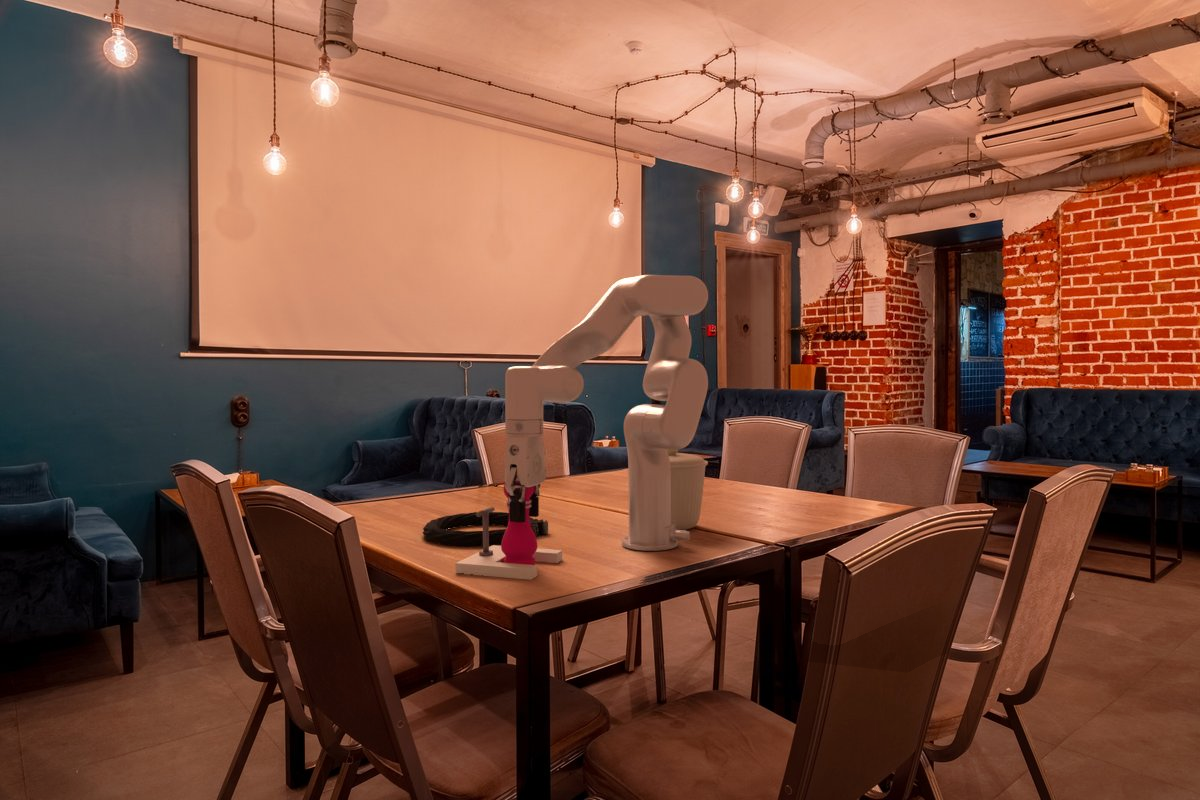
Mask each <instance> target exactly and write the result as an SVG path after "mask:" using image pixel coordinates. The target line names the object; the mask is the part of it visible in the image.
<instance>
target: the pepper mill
mask: <svg viewBox="0 0 1200 800" xmlns="http://www.w3.org/2000/svg"><path fill="white" fill-rule="evenodd" d="M505 484H506V482H504V484H503V493H504V496H505V497H506V498H507V500H506V501H505V502H506V506H505V508H507V509H508V513H509V522H508V526H506V528H505V529H506V531H505V533H504V536H503V538H502V542H501V545H500V546H501V550H502V552H503V553H504V554H505V555H506V557H507V558H505V559H504V563H513V564H526V565H536V562H535V558H534V557H532V556H533V554H534V553H535V552H536V550H537V548H538V540H537V536H535V534H534V532H533V530H532V528H531V525H530V521H529V508H530V507H531V500H530V497H531V496H532V494H533V492H534V486H532V487H526V488H525V495H524V501H523V502H526V521H525V522H523V523H521V522H511V521H510V502H509V496H508V492H507V490H506V489H505ZM515 485H520V486H522V485H521V483H515ZM517 490H518V492H519V494H520V489H517Z"/></svg>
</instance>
